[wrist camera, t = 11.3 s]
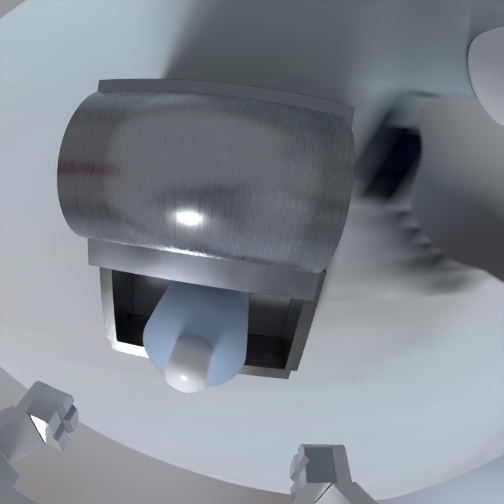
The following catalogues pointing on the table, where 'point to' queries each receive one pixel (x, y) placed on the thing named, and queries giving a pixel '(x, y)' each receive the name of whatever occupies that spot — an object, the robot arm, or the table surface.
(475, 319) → the table surface
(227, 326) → the light blue bottle
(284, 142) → the dark grey piece
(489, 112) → the pill bottle
